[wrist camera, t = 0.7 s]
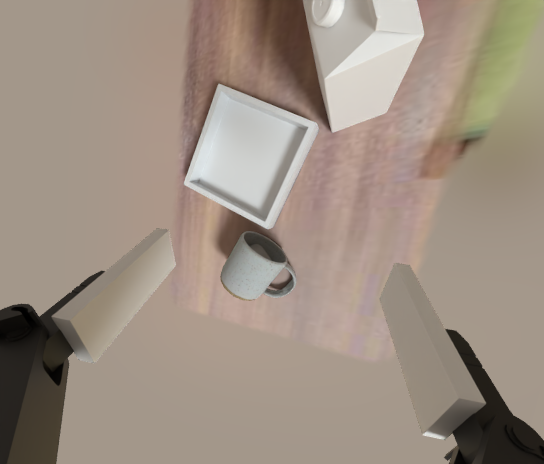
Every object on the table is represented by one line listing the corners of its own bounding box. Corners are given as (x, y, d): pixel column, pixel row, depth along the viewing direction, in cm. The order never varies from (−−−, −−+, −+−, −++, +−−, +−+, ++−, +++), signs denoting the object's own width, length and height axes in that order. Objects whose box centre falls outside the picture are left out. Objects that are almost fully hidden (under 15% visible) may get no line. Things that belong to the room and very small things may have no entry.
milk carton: (373, 59, 30) (419, -159, 12) (386, 113, 30) (451, -18, 12) (319, 83, 32) (288, -70, 14) (331, 133, 32) (317, 47, 14)
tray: (228, 92, 36) (218, 83, 33) (319, 130, 33) (316, 123, 30) (194, 185, 40) (183, 184, 37) (273, 227, 37) (267, 229, 34)
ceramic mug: (230, 266, 40) (206, 281, 32) (254, 227, 37) (234, 234, 30) (281, 304, 38) (267, 329, 31) (309, 266, 36) (301, 283, 29)
